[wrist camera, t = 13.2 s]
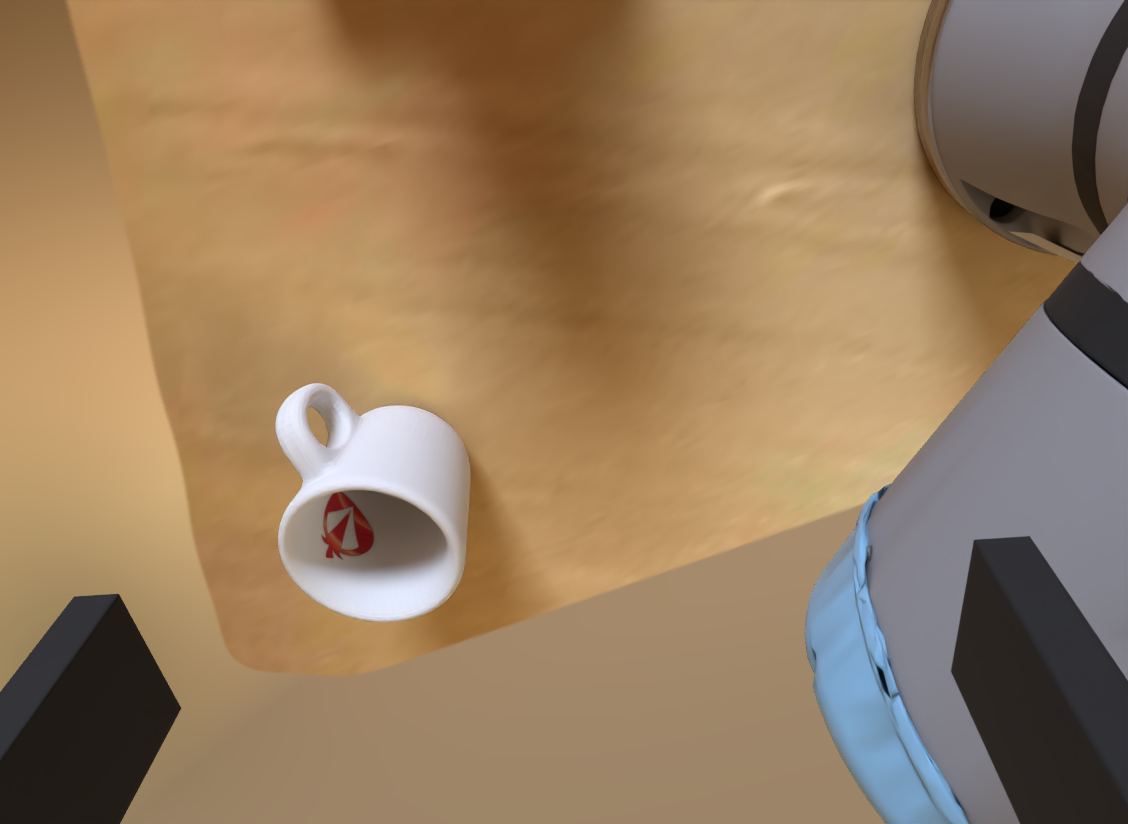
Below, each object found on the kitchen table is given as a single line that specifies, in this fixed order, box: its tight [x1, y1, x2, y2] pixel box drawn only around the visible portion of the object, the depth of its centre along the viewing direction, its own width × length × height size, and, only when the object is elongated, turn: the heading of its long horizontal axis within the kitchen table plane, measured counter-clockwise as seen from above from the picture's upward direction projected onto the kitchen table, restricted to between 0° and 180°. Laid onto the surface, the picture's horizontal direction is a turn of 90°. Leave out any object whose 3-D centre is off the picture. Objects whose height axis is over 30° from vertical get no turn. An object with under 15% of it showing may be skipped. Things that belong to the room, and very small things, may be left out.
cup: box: [276, 383, 471, 622], centre depth 37 cm, size 11×8×8 cm
